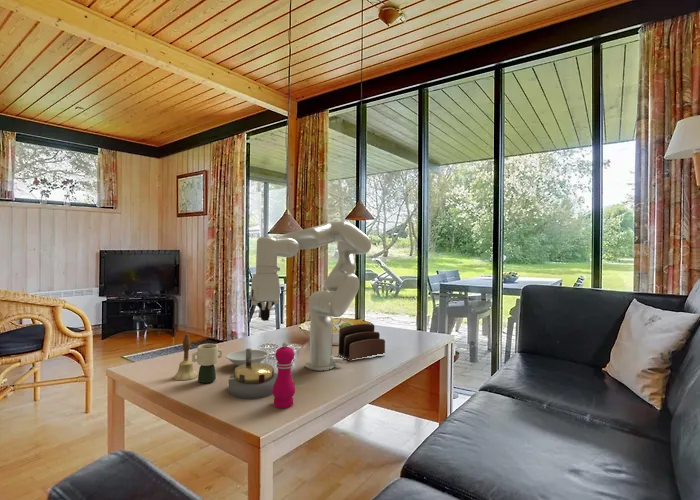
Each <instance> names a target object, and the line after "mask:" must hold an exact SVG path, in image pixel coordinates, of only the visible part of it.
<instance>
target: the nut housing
mask: <svg viewBox="0 0 700 500" xmlns="http://www.w3.org/2000/svg"><path fill="white" fill-rule="evenodd" d="M277 375H278V373H277V372H274V377H273V378H272V379H271V380H269V381H267V382H263V383H257V384H245V383H240V382H238V381H236V380H235V377H234V373H233V374H231V376H229V378H228V394H229V395H231V396H232V397H234V398H239V399H248V400H250V399H252V400H254V399H261V398H265V397H269V396H271V395H273V393H272V390H273V386H274V383H275V381H276V379H277Z"/></svg>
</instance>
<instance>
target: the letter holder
mask: <svg viewBox="0 0 700 500" xmlns="http://www.w3.org/2000/svg"><path fill="white" fill-rule="evenodd" d="M375 327H376V326H375V325H374V324H373V323H357V324H352V325H351V324H350V325H346V326H342V327H340V328H339V330H338V354H337V355H338V356H339V355H340V356H342V357H344V358H346V359H349V360H352V359H356V358H362V357H367V356H372V355H377V354H383V353H385V354H386V340H385V339H384V338H380V332H379V331H375V329H376V328H375ZM340 356H339V357H340ZM342 357H341V358H342ZM344 358H343V359H344ZM346 359H345V360H346Z"/></svg>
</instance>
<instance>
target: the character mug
mask: <svg viewBox="0 0 700 500" xmlns="http://www.w3.org/2000/svg"><path fill="white" fill-rule="evenodd" d="M196 351H197V352H193V353H192V355H191V362H192V363H195V362H197V365H199V370H198V373H197V375H198V376H197V381H198V382H199V383H200V382H201V383H213V382H214V381H216V380H217V376H216V375H217V373H216V367H215V365H216V364H217V362H218V361H219V360H218V359H221V358H222V357H223V349H222V348H219V345H218V344H216V343H203V344H200V345H198V346H197V347H196Z"/></svg>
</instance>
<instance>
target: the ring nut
mask: <svg viewBox="0 0 700 500" xmlns="http://www.w3.org/2000/svg"><path fill="white" fill-rule="evenodd" d="M245 350H246V364H243V365H240V366H238V365H237V367H235V369H234V370H233V374H234V377H235V380H236V381H238V382H240V383H245V384H257V383H263V382H267V381H269V380H271V379H272V378H273V377H274V373H275V368H274V366H273V365H271V364H268V363H264V362H260V363H251V358H252V350H253V349H252V348H246V349H245Z"/></svg>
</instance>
